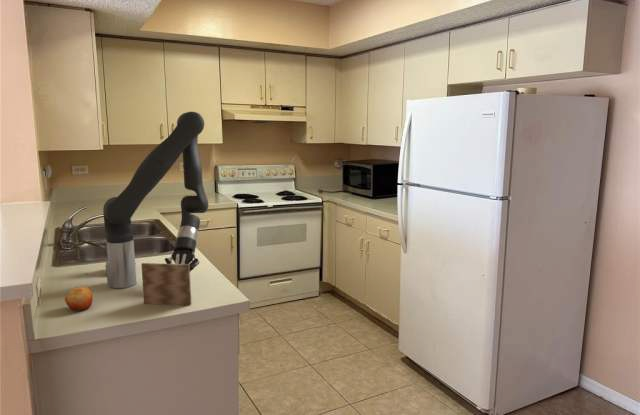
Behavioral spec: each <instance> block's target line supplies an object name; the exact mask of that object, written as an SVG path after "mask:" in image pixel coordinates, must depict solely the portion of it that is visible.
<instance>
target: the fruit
mask: <svg viewBox="0 0 640 415" xmlns="http://www.w3.org/2000/svg"><path fill="white" fill-rule="evenodd" d="M93 297H94V296H93V292H92V291H91V289H90V288H89V287H87V286H79V287H75V288H72V289H71V290H70V291H69V292H68V293H66V295H65V298H64V302H65V304H66V306H67V307H68V308H69V309H70V310H71V311H85V310H88V309H89V308H91V306H92V304H93V301H94V300H93Z"/></svg>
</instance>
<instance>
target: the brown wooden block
mask: <svg viewBox="0 0 640 415" xmlns="http://www.w3.org/2000/svg"><path fill="white" fill-rule="evenodd" d="M189 264H190V263H189ZM189 264H175V263H172V264H167V263H160V262H159V263H155V262H154V263H153V262H152V263H151V262H150V263H149V262H142V263H141V276H142V279H141V280H142V291H143V304H145V305H177V306H178V305H180V306H190V305H192V293H191V291H192V289H191V272H190V265H189Z"/></svg>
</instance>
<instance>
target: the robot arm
mask: <svg viewBox="0 0 640 415" xmlns="http://www.w3.org/2000/svg"><path fill="white" fill-rule="evenodd" d="M204 129H205V120H204V117H203V116H202V115H201V114H200V113H199V112H196V111H186V112H184V113H182V114H180V115H179V116H178V118H177V121H176V126H175V128H174V129H173V130H172V132H171V133H170V134H169V135H168V137H166V138H165V139H164V140H163V141H161V143H159V144H157V146H156V147H155V148H154V149H152V150H151V151H150V153H148V154H147V156H145V158H144V160H143V161H142V162H141V163H140V165H139V166H138V167H137V169H136V170H135V173H134V174H133V176H132V178H131V180H130V182H129V183H128V185H127V186H125V188H124V190H122V192H121V193H120V194H119V195H117V196H113V197H110V198H109V199H107V200H106V201H105V203H104V205H103V208H102V209H103V213H102V214H103V222H104V232H105V239H106V247H107V249H106V251H107V252H106V253H107V260H108V261H106V262H105V266H106V267H105V270H106V281H107V282H106V284H107V287H109V288H113V289H126V288H130V287H132V286H135V285H136V284H137V272H136V271H137V269H136V268H137V267H136V265H135V263H136V255H135V242H134V241H135V239H134V231H133V227H132V217H133V216H134V214H135V213H136V211H137V210H138V208H139V206H140V205H141V203H142V202H143V201H144V199H145V198H146V197H147V196H148V195H149V194H150V193H151V192H152V191H153V189H154V188H155V187H156V186H157V185H158V184H159V183H160V182H161V181H162V180H163V178H164V177H165V176H166V174H167V173H168V172H169V171H170V169H171V168H172V167H173V166H174V164H175V163H176V162H177V160H178V159H179V158H180V156H181V155H182V164H183V183H184V185H183V186H184V188H185V190H189V191H193V192H194V193H195V195H185V196H183V197H182V198H181V201H180V209H181V219H180V220H181V221H180V224H179V229H178V231H177V235H176V239H175V243H174V244H175V245H174V248H173V252H172V254H171V256H170V257H168V258H167V257H166V258H164V261H165V264H173V262H174V264H189V265H190V273H191V272H192V271H193V270H194V269H195V268H196V267H197V266H198V265H199V264H200V260H199V259H198V258H197V257H196V255H195V252H196V247H197V243H198V238H199V229H200V224H201V219H200V217H199V216H198V215H195V214H204V213H206V212H207V211H208V209H209V201H208V197H207V194H206V192H205V189H204V184H203V182H204V181H203V170H202V163H201V158H200V153H199V145H198V142H199V141H198V138H199V135H200V134H201V133H202V132H203V130H204Z"/></svg>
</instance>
